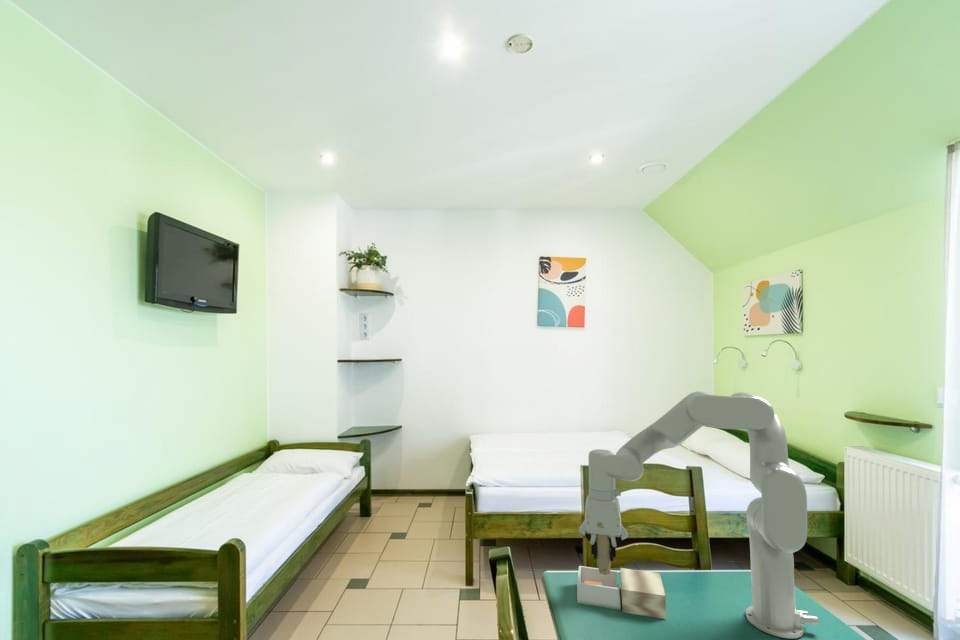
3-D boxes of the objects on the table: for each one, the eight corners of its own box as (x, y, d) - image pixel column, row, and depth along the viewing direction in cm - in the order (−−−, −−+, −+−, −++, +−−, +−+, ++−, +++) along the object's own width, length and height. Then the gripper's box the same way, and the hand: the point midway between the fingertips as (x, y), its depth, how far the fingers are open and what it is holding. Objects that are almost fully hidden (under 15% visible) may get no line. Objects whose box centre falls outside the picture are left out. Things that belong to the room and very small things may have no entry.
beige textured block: (660, 594, 126) (659, 573, 126) (666, 619, 114) (665, 595, 115) (620, 588, 129) (620, 567, 129) (622, 612, 117) (622, 589, 118)
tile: (584, 580, 128) (584, 589, 128) (584, 589, 123) (584, 598, 123) (601, 582, 126) (601, 591, 126) (602, 591, 122) (602, 601, 121)
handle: (617, 577, 122) (614, 522, 123) (594, 576, 123) (591, 522, 124) (614, 568, 127) (611, 516, 128) (592, 568, 128) (589, 516, 129)
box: (619, 589, 128) (618, 571, 129) (620, 609, 118) (620, 589, 119) (579, 584, 131) (579, 565, 132) (577, 602, 122) (577, 583, 122)
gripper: (631, 492, 128) (633, 555, 127) (573, 487, 132) (574, 548, 131) (633, 500, 121) (635, 568, 119) (572, 495, 125) (573, 560, 124)
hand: (603, 557), depth 125 cm, fingers closed on handle, 4 cm apart
